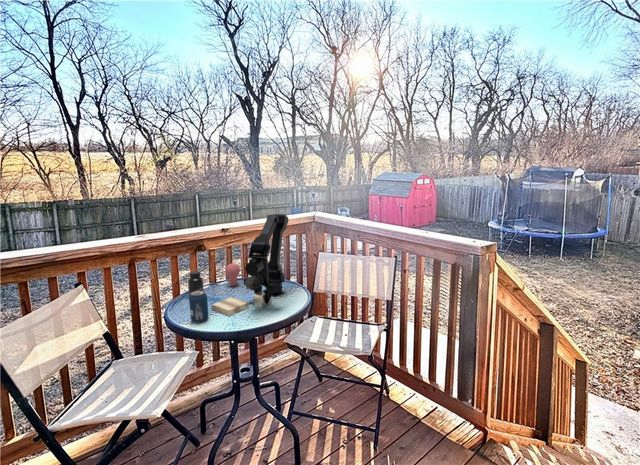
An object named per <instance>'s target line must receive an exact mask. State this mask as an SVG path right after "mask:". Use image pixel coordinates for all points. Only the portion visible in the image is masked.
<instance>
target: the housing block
mask: <svg viewBox="0 0 640 465" xmlns="http://www.w3.org/2000/svg"><path fill="white" fill-rule="evenodd" d="M264 290H265V289H262V291H260V292H257V293H253V300H254V307H255V308H258V309H261V310H263V309H265V308H267V307H269V306H272V305H273V304H272V303H273V302H272V297H271V298H270V300H269V302H268V304H266V302H265V293H264V292H263V291H264Z"/></svg>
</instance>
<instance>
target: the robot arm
mask: <svg viewBox="0 0 640 465" xmlns="http://www.w3.org/2000/svg"><path fill="white" fill-rule="evenodd" d="M288 224H289V217H288V215H286V214H285V213H282V214H281V213H273V214H267V215H266V221H265V223H264V225H263V227H262V230H261V232H260V233H259V235H258V236H257V237H255V238H254V240H253V241H252V243H251V245H250V247H249V248H250V249H249V253H248V259H249V260H248V263H247V264H246V265H245V267H244V270H245V273H246V274H247V275H248V277H245V278H244V280H243V285H244V286H245V287H246V289H247V290H250V291H253V294H255V293H257V292H260V291H262V290H264V291H263V292H264V293H265V302H266V304H268V302H269V300H270V298H271V299H272V296H273V297H278V296H281V295H283V294H284V293H286V292H285V291H284V290H283V283H285V282H286V281H285V280H286V275H285V273H284V271H283V267H282V265H281V263H280V261H281V254H282V253H281V252H282V243H283V233H284V232H285V231H286V229H287V227H288ZM270 240H271V243H270ZM263 287H264V288H265V289H263Z"/></svg>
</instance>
